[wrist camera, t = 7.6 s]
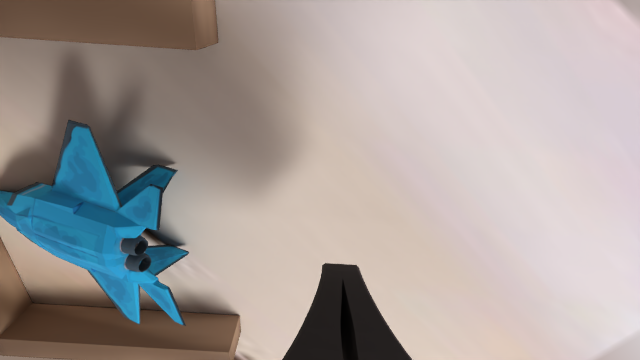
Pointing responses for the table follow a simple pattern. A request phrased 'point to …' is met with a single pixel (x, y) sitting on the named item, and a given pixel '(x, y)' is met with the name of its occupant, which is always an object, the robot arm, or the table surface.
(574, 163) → the table surface
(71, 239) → the toy airplane
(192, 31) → the brown wooden u shape
